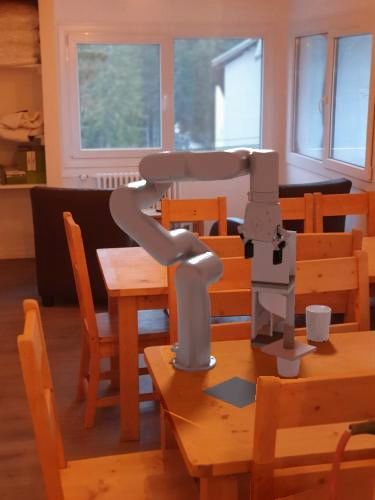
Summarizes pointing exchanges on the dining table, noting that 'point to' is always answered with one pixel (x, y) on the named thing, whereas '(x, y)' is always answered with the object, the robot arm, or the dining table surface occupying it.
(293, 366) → the shot glass
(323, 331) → the white cup
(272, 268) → the white coffee machine
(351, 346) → the dining table surface
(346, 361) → the dining table surface
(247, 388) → the mat
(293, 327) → the lid
